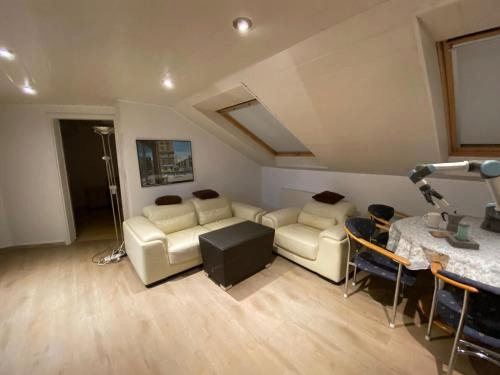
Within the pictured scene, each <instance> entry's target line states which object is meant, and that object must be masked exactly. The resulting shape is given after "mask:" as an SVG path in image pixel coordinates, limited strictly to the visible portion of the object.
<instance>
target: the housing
mask: <svg viewBox="0 0 500 375" xmlns="http://www.w3.org/2000/svg"><path fill="white" fill-rule="evenodd" d="M445 241H446V242H448V243H449V245H451V246H452V247H453V248H459V249H460V248H461V249H469V250H470V249H471V250H477V249H478V250H477V251H479V250H480V247H481V246H480V243H478V242H477V240H474V239H473V238H472V237H470V236H468V238H467V241H458V240H457V234H455V235H446V238H445Z"/></svg>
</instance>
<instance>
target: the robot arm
mask: <svg viewBox="0 0 500 375" xmlns="http://www.w3.org/2000/svg"><path fill="white" fill-rule="evenodd" d="M449 172H450V173H451V172H454V173H455V172H463V173H473V174H479V175H480V179H481V180H483V181H485V182H486V185H487V188H488V189H489V191H490V192H489V193H490V194H491V197H492V199H493V201H494V202H488V203H487V204H486V206H485V211H484V218H483V220H482V222H481V223H480V225H479V228H480V229H482V230H484V231H488V232H494V233H500V161H498V160H494V159H484V158H483V159H480V158H479V159H474V160H464V161H463V162H448V163H434V164H433V163H429V164H416V165H415V166H414V167H413V169H412V170H410V171H408V172H407V173H406V176H407V178H408V179H409V180H410V181H411V182H412V184H413V185H414V186H415V187H416V188H417V189H418V190H419V191H420V193H421V194H422V195H423V197H424V198H425V201H426V203H427V204H431V205H432V207H434V209H435V210H438V209H440V208H441V207H440V206H439V205H438V204H437V202H435V201H434V200H433V197H434V198H436V199H437V200H439V202H440V203H441V204H442V205H443V206H444V207H445V208H446V207H448V206H450V204H449V203H448V202H447V201H446V200H445V199H444V198H445V197H444V196H443V195H442V194H440V193H439V192H438V191H436V190H435V189H433V188H432V186H431V185H430V184H429V183H428V182H427V181H426V180H425V179H424V178H426V177H427V176H429V175H432V174H434V173H449ZM431 188H432V189H431Z"/></svg>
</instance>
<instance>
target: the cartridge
mask: <svg viewBox="0 0 500 375" xmlns="http://www.w3.org/2000/svg"><path fill="white" fill-rule="evenodd" d="M470 227H471V223H469V222H465V221H460V222H459V223H458V233H456V235H457V240H458V241H467V238H468V237H469V231H470Z"/></svg>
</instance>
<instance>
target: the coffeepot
mask: <svg viewBox="0 0 500 375" xmlns="http://www.w3.org/2000/svg"><path fill="white" fill-rule="evenodd" d="M445 215H447V220H446V217H445ZM440 216H441V218H442V221H444V222H447V221H448V222H447V225H446V227H445V230H446V232H449V233H453V234H455V233H456V234H457V233H458V223H459V222H462V220H463V219H464V218H466V216H465V215H463V214H461V213H458V212H457V210H454V211H453V212H448V211H442V212H441V213H440Z"/></svg>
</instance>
